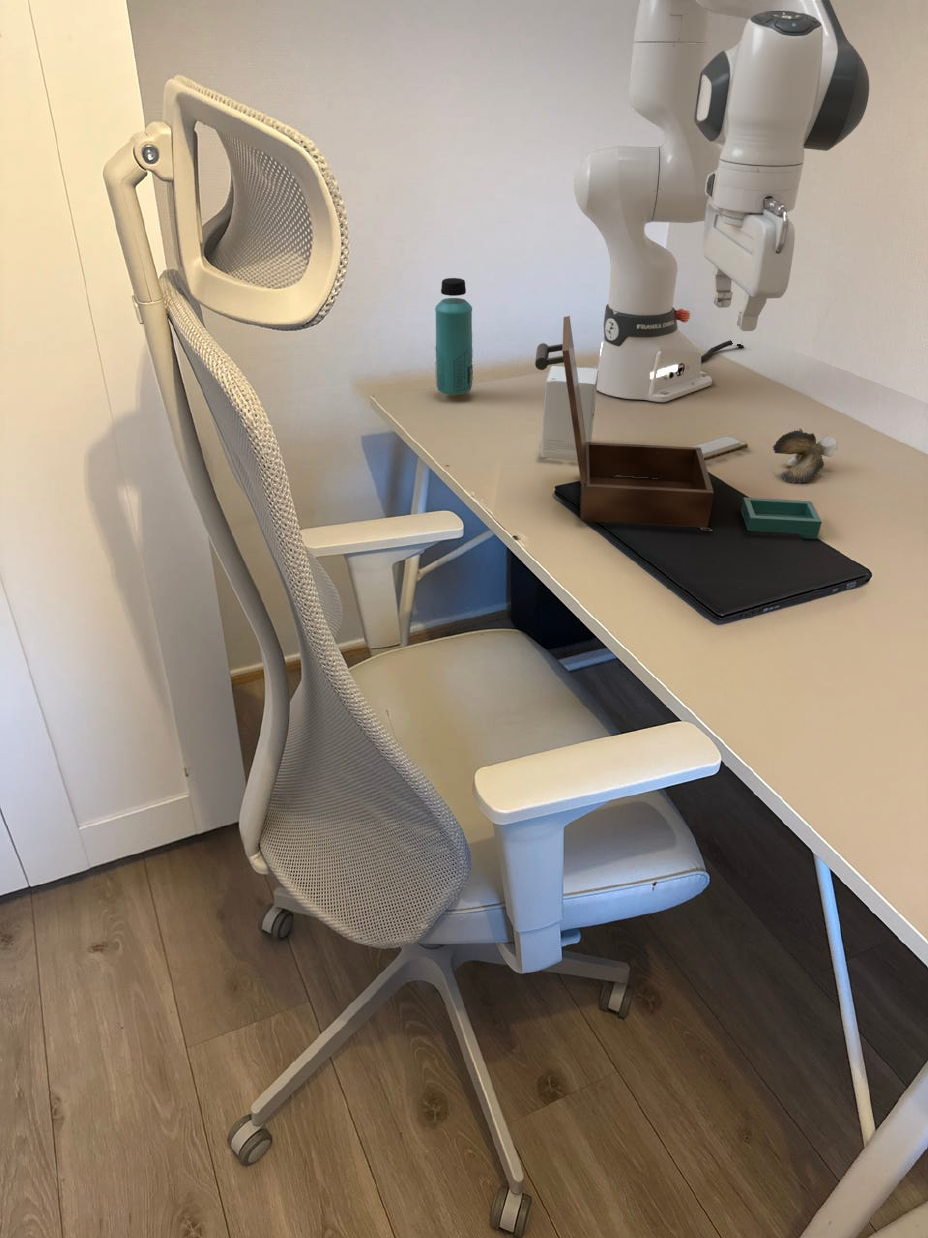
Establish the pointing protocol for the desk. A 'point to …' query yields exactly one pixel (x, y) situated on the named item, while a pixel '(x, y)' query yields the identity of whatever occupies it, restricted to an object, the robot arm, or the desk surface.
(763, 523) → the dish
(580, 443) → the lid
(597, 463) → the box
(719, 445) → the harmonica
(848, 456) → the desk surface
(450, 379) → the beverage bottle
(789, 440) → the eagle figurine
